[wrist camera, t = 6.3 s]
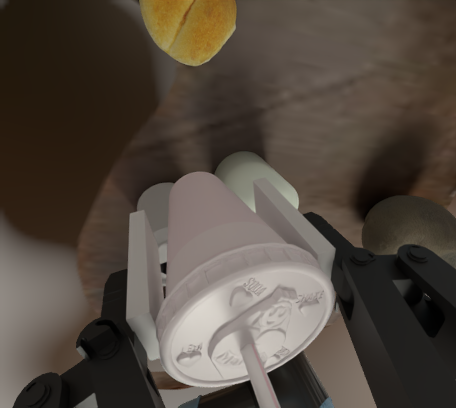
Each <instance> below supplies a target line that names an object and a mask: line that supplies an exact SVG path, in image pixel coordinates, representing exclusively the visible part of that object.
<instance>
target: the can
mask: <svg viewBox="0 0 456 408" xmlns="http://www.w3.org/2000/svg"><path fill="white" fill-rule="evenodd" d="M173 185H174V183H160V184H157V185H154V186H151V187H150V188H149V189H147V190H146V191H144V193H143V194H142V195H141V197H140V198H139V201H138V205H137V212H138V211H141V210H144V211H145V214H146V216H147V219H148V222H149V224H150V227H151V229H152V232H153V235H154V237H155V240H156V243H157V245H158V250H159V259H160V268H161V276H162V285H163V286H166V272H167V243H168V213H169V194H170V191H171V189H172V187H173Z"/></svg>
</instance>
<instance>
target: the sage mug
mask: <svg viewBox="0 0 456 408" xmlns="http://www.w3.org/2000/svg"><path fill="white" fill-rule="evenodd" d="M214 175H215V176H216V177H218V178H219V179H220V180H221V181H222V182H223V183H224V184H225V185H226V186H227V187H228V188H229V189H230V190H231V191H232V192H233V193H235V194H236V195H237V196H238V197H239V198H240V199H241V200H242V201H243V202H244V203H245V204H246V205H247V206H248V207H249V208H250V209H251V210H252V211H253V212H254V213H256V211H255V199H254V188H253V180H257V179H260V178H264V177H265V178H266V179H267V180H268V181H269V182H270V183H271V184H272V185H273V186H274V187H275V188H276V189H277V190H278V191H279V192H280V193H281V194H282V195H283V196H284V197H285V198H286V199H287V200H288V201H289V202H290V203H291V204H292V205H293V206H294V207H295V208H296V209H297V210H298V205H299V199H298V195H297V192H296V190H295V189H294V188H293V187H292V186H291V185H290V184H289V183H288V182H287V181H286V180H285V179H284V178H283V177H281V176H280V175H279V174H278V173H277V172H276V171H275V170H274V169H273V168H272V167H271V166H269V165H268V164H267V163H266V162H265V161H264V160H263V159H262V158H261V157H260V156H258V155H257V154H255V153H253V152H249V151H240V152H236V153H233V154H231V155H229V156H228V157H226V158H225V159H224V160H223V161H222V162H221V163H220V164H219V165H218V167H217V169H216V171H215V174H214Z"/></svg>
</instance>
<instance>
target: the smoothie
mask: <svg viewBox="0 0 456 408" xmlns="http://www.w3.org/2000/svg"><path fill="white" fill-rule="evenodd" d="M334 300H335V293H334V287H333V284H332V282H331V280H330V279H329V277H328V276H327V275H326V274H325V273H324V272H323V270H322V269H321V267H320V264H319V263H318V262H317V260H316V259H315V258H314V257H313V256H312V255H311V254H310V252H308V251H306V250H304V249H302V248H299V247H297V246H295V245H293V244H287V243H286V242H285V241H284V240H283V239H282V238H281V237H280V236H279V235H278V234H277V233H276V232H275V231H274V230H272V229H271V228H270V227H269V226H268V225H267V224H266V223H265V222H264V221H263V220H262V219H261V218H260V217H259V216H258V215H257V214H256V213H254V212H253V211H252V210H251V209H250V208H249V207H248V206H247V205H246V204H245V203H244V202H243V201H242V200H241V199H240V198H239V197H238V196H237V195H236V194H235V193H233V192H232V191H231V190H230V189H229V188H228V187H227V186H226V185H225V184H224V183H223V182H222V181H221V180H220V179H219V178H218V177H216V176H215V175H213V174H211V173H208V172H193V173H189V174H187V175H185V176H183V177H181V178H180V179H179V180H178V181H177V182H176V183H175V184H174V185H173V187H172V189H171V191H170V194H169V213H168V243H167V272H166V298H165V299H164V301H163V302H162V305H161V308H160V310H159V313H158V316H157V318H156V338H157V340H158V343H159V357H160V361H161V364H162V366H163V368H164V370H165V371H166V372H167V373H168V374H169V375H170V376H171V377H173V378H174V379H176V380H177V381H180V382H182V383H185V384H187V385H192V386H198V387H219V386H227V385H233V384H237V383H241V382H245V381H248V380H250V381H251V383H252V386H253V389H254V392H255V395H256V398H257V401H258V404H259V407H260V408H281V407H280V405H279V402H278V400H277V397H276V395H275V392H274V390H273V387H272V385H271V382H270V380H269V377H268V375H267V373H268V372H270V371H272V370H274V369H276V368H278V367H279V366H281V365H283V364H284V363H286V362H287V361H289V360H290V359H292V358H294V357H295V356H296V355H297V354H299V353H300V352H301V351H302V350H304V349H305V348H306V347H307V346H308V345H309V344H310V343H311V342H312V341H313V340H314V339H315V338H316V337H317V336H318V334H319V333H320V332H321V330H322V329H323V328H324V326H325V324H326V323H327V321H328V319H329V318H330V315H331V312H332V309H333V306H334Z"/></svg>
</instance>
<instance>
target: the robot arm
mask: <svg viewBox="0 0 456 408" xmlns="http://www.w3.org/2000/svg"><path fill="white" fill-rule="evenodd" d="M253 188H254V199H255V211H256V214H257V215H258V216H259V217H260V218H261V219H262V220H263V221H264V222H265V223H266V224H267V225H268V226H269V227H270V228H271V229H272V230H274V231H275V232H276V233H277V234H278V235H279V236H280V237H281V238H282V239H283V240H284V241H285V242H286V243H287V244H293V245H295V246H297V247H299V248H302V249H304V250H306V251H308V252H310V254H311V255H312V256H313V257H314V258H315V259H316V260H317V262H318V263H319V264H320V267H321V269H322V270H323V272H324V273H325V274H326V275H327V276H328V277H329V279H330V280H331V282H332V284H333V287H334V290H335V291H336V293H337V294H336V301H335V307H334V308H335V312H338V307H339V308H340V311H341V314H342V316H343V319H344V322H345V324H346V327H347V329H348V332H349V335H350V337H351V340H352V343H353V345H354V348H355V351H356V353H357V356H358V358H359V361H360V364H361V366H362V369H363V372H364V374H365V377H366V380H367V382H368V385H369V387H370V390H371V393H372V396H373V398H374V401H375V404H376V406H377V408H456V269H455V268H454V267H452V266H451V265H450V264H448V263H447V262H446V261H444V260H443V259H442V258H440V257H439V256H438V255H437V254H435V253H434V252H433V251H431V250H429V249H428V248H426V247H423V246H420V245H415V244H405V245H402V246H400V247H399V249H398V251H397V254H390V255H375V254H374V253H373V252H371V251H369V250H367V249H363V248H356V247H354V246H353V245H352V244H351V243H350V242H349V241H347V240H346V239H345V238H344V237H343V236H342V235H341V234H340V233H339V232H338V231H337V230H335V229H333V227H332V226H331V225H330V224H328V222H327V221H326V220H324V219H323V218H322V217H321V216H319V215H317V214H315V213H313V212H309V213H306V214H303V215H302V214H301V213H300V212H299V211H298V210H297V209H296V208H295V207H294V206H293V205H292V204H291V203H290V202H289V201H288V200H287V199H286V198H285V197H284V196H283V195H282V194H281V193H280V192H279V191H278V190H277V189H276V188H275V187H274V186H273V185H272V184H271V183H270V182H269V181H268V180H267V179H266V178H265V177H264V178H260V179H257V180H253ZM425 294H426V295H427V296H426V295H425ZM428 296H429V297H430V298H429V297H428ZM163 301H164V294H163V285H162V276H161V268H160V259H159V250H158V245H157V243H156V240H155V237H154V235H153V232H152V229H151V227H150V224H149V222H148V219H147V216H146V214H145V211H144V210H141V211H138V212H134V213H130V221H129V250H128V269H125V270H122V271H119V272H115V273H112V274H111V275H110V276H109V278H108V280H107V282H106V283H105V288H104V296H103V305H102V311H101V317H100V318H98V319H95V320H94V321H92V322H91V323H90V324H88V325H87V326H86V327H85V328H84V329H83V331H82V332H81V333H80V335H79V337H78V339H77V342H76V349H77V350H78V351H79V353H80V354H81V355H82V356H83V357H84V358H85V359H83V360H82V361H81V362H80V363H78V364H77V365H75V366H74V367H72V368H71V369H69V370H68V371H66V372H65V373H63V374H62V375H60V376H59V375H58V374H57V373H52V372H50V373H46V374H42V375H41V376H39V377H37V378H35V379H33V380H32V381H31V382H30V383H29V384H28V385H27V386H26V387H25V388H24V389H23V390H22V391H21V393H20V394H19V396H18V397H17V399H16V401H15V403H14V406H13V408H165V405H164V403H163V401H162V398H161V396H160V393H159V391H158V389H157V386H156V384H155V381H154V379H153V377H152V374H151V372H150V371H149V369H148V367H147V356H148V357H149V359H150V361H153V360H155V359H158V358H160V357H159V343H158V340H157V338H156V318H157V316H158V313H159V310H160V308H161V305H162V302H163ZM267 375H268V377H269V380H270V382H271V385H272V387H273V390H274V392H275V395H276V397H277V400H278V402H279V405H280V407H281V408H334V406H333V404H332V399H331V398H330V397H329V396H328V394H327V392H326V390H325V388H324V387H323V385H322V383H321V381H320V380H319V378H318V376H317V374H316V372H315V371H314V369H313V367H312V365H311V363H310V361H309V360H308V358H307V356H306V354H305V353H304V351H303V350H302V351H301V352H300V353H299V354H297V355H296V356H295V357H294V358H292V359H290V360H289V361H287V362H286V363H284V364H283V365H281V366H279V367H278V368H276V369H274V370H272V371H270V372H268V373H267ZM178 408H260V407H259V404H258V401H257V398H256V395H255V392H254V389H253V386H252V383H251V381H250V380H248V381H245V382H241V383H238V384H235V385H232V386H230V387H226V388H224V389H221V390H218V391H215V392H212V393H209V394H207V395H204V396H202V395H199V396H198V397H197V398H196V399H193V400H191V401H188V402H186V403H184V404H182V405H180V406H179V407H178Z"/></svg>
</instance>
